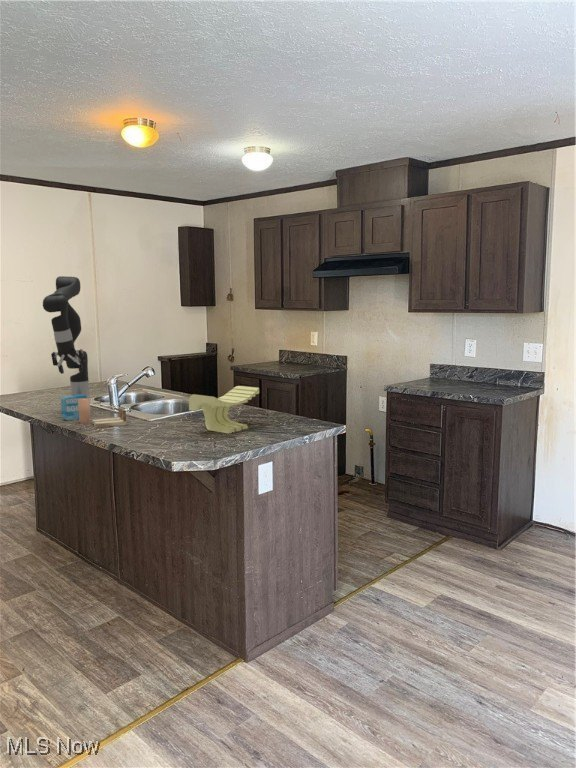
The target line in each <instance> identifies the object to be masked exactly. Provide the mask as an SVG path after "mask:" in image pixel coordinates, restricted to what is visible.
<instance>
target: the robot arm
mask: <svg viewBox="0 0 576 768" xmlns="http://www.w3.org/2000/svg"><path fill="white" fill-rule="evenodd" d="M55 289H56V290H55V291H54V292H53V293H51V294H48V295H46V296H45V297H44V298H43V300H42V308H43V310H44V311H45V312H47V313H57V312H58V313H60V315H57V316H54V317H52V318H51V319H50V320H51V326H52V330H53V336H54V341H55V345H56V349H57V352H56V351H53V352H51V356H50V357H51V361H52V365H53V366H55V367H57V369H58V372H59V373H60V374H61V375H62V374H64V373H65V371H64V366H63V362H65V364H66V368H68V369H71V370H73V369H78V372H77V373H75V374H72V375H70V377H69V381H70V393H71V395H70V396H72V395H80V394H82V395H85V396H87V398H89V405H90V406H91V400H90V399H91V398H90V397H91V396H90V384H89V382H90V381H89V370H88V369H89V368H88V367H89V365H88V364H89V363H88V359H89V357H88V353H87V352H86V351H85V350H83V349H82V348H80V349H77V350H76V347H75V343H76V341H77V339H78V337H79V335H80V334H81V332H82V322H81V317H80V314H78V312H77V311H76V310H75V309H74V308H73V306H72V305H71V304H70V303H69V300H71V299H72V298H75V297H77V296H78V295H79V294H80V291H81V280H80V279H79V278H78V277H77V276H76V277H75V276H57V277H56V278H55ZM57 357H59V361H58V358H57ZM91 410H92V409H90V413H91Z"/></svg>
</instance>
